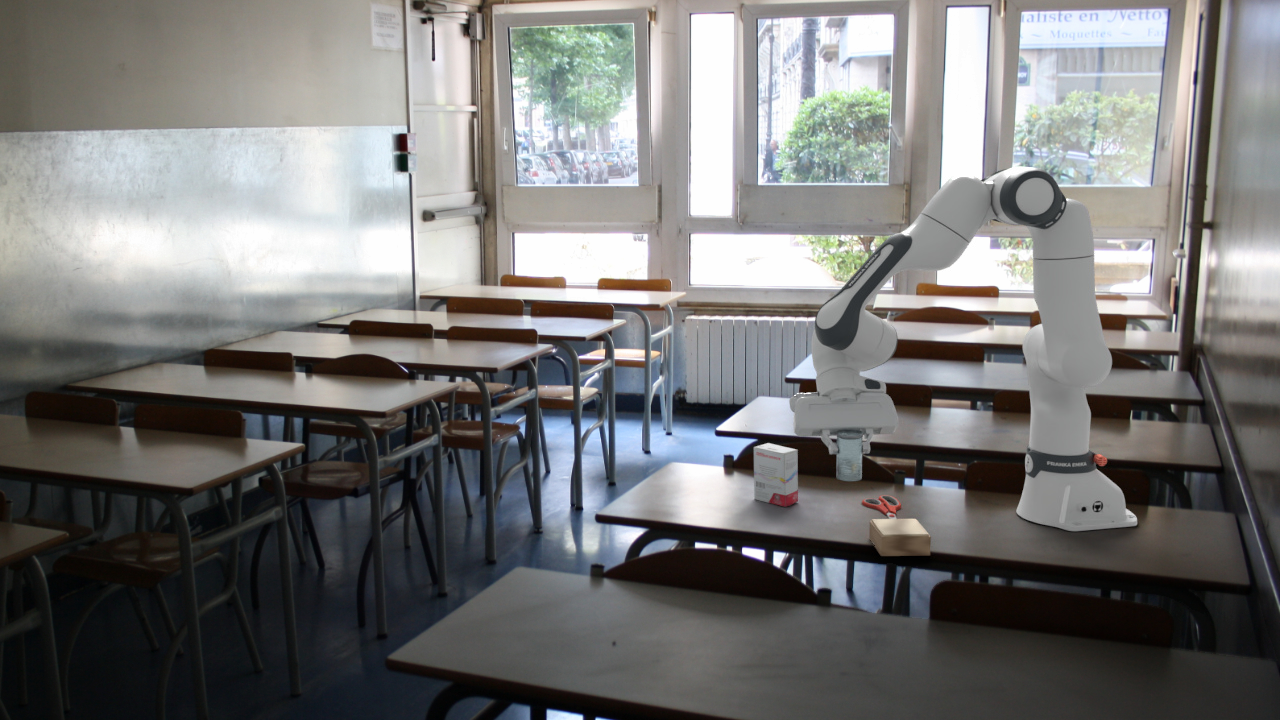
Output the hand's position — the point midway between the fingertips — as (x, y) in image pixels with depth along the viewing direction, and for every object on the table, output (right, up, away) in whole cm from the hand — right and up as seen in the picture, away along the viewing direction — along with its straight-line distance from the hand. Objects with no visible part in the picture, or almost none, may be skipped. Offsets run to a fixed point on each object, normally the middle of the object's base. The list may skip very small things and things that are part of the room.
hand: (850, 452), depth 193 cm
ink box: (-11, -13, +22) cm, 28 cm away
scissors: (+12, -15, +12) cm, 22 cm away
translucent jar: (0, -5, +2) cm, 5 cm away
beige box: (+8, -17, -5) cm, 20 cm away
